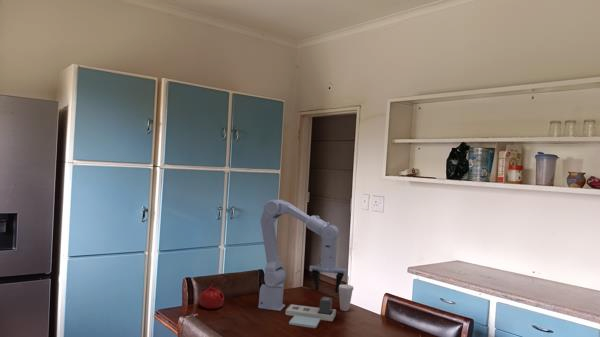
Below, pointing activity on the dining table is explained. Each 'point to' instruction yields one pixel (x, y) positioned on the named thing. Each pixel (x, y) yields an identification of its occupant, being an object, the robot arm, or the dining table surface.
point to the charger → (325, 306)
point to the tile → (304, 321)
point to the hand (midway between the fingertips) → (326, 291)
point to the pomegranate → (211, 298)
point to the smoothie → (345, 296)
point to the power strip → (309, 312)
